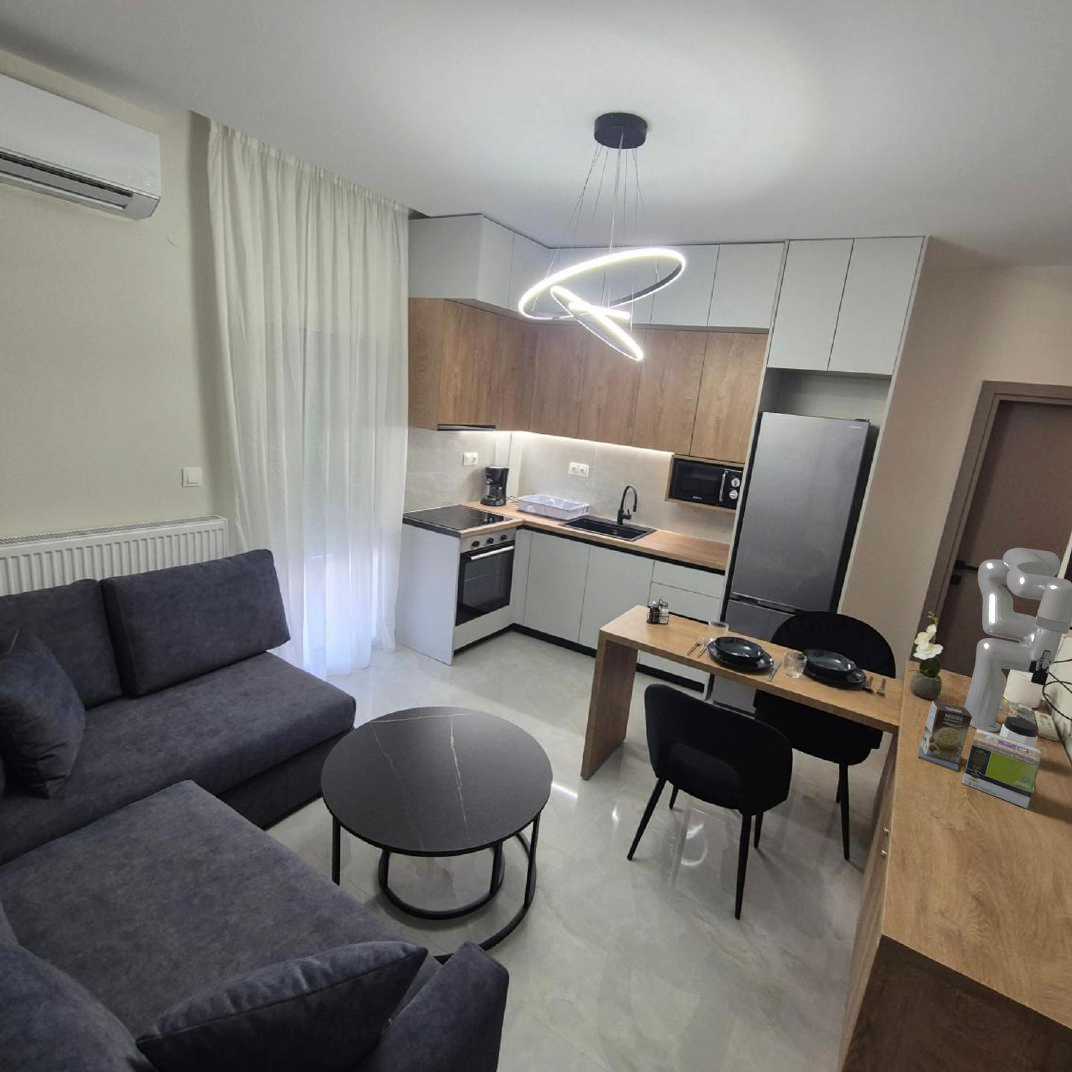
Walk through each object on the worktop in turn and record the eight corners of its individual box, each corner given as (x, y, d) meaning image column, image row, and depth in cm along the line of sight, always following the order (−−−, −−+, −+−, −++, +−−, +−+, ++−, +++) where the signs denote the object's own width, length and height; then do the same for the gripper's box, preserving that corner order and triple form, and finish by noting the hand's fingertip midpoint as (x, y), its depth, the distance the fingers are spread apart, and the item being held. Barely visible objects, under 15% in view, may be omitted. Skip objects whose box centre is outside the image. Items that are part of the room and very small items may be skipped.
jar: (1032, 759, 183) (1043, 725, 180) (1027, 767, 178) (1037, 733, 175) (998, 745, 190) (1007, 713, 187) (992, 753, 184) (1001, 720, 182)
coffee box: (925, 755, 178) (937, 708, 175) (919, 744, 184) (931, 699, 181) (959, 763, 175) (972, 716, 172) (953, 752, 181) (965, 706, 178)
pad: (921, 742, 187) (921, 740, 187) (958, 755, 182) (958, 752, 181) (918, 757, 178) (918, 755, 178) (957, 771, 172) (957, 769, 172)
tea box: (1029, 794, 164) (1043, 748, 161) (1027, 810, 157) (1041, 762, 153) (965, 769, 174) (977, 726, 171) (960, 783, 166) (973, 738, 163)
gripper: (1033, 614, 175) (1018, 665, 179) (1037, 628, 162) (1021, 683, 165) (1065, 621, 171) (1049, 673, 175) (1073, 635, 157) (1056, 692, 161)
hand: (1036, 678), depth 170 cm, fingers open, 9 cm apart
